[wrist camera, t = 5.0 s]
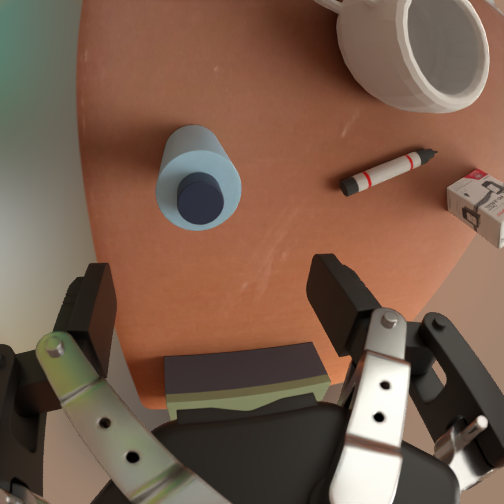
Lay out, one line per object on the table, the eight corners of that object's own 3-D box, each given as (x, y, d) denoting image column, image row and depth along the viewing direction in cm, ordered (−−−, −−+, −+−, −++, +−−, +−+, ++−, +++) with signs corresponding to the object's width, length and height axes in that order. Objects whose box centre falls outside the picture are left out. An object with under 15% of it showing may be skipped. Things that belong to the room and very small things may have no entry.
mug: (448, 23, 25) (505, 25, 17) (421, 126, 33) (478, 148, 24) (307, -60, 18) (351, -94, 10) (268, 63, 26) (306, 57, 18)
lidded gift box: (172, 396, 50) (175, 437, 43) (163, 356, 44) (165, 402, 37) (298, 382, 55) (312, 418, 48) (312, 341, 49) (331, 381, 42)
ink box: (477, 167, 38) (531, 197, 28) (478, 192, 41) (528, 224, 31) (445, 186, 39) (501, 223, 29) (447, 212, 41) (498, 251, 32)
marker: (341, 193, 36) (349, 199, 34) (338, 178, 34) (346, 184, 33) (432, 155, 35) (441, 159, 34) (431, 142, 34) (440, 146, 33)
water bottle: (164, 178, 30) (156, 247, 19) (164, 125, 27) (151, 159, 16) (218, 177, 31) (244, 244, 20) (221, 124, 29) (251, 158, 17)
